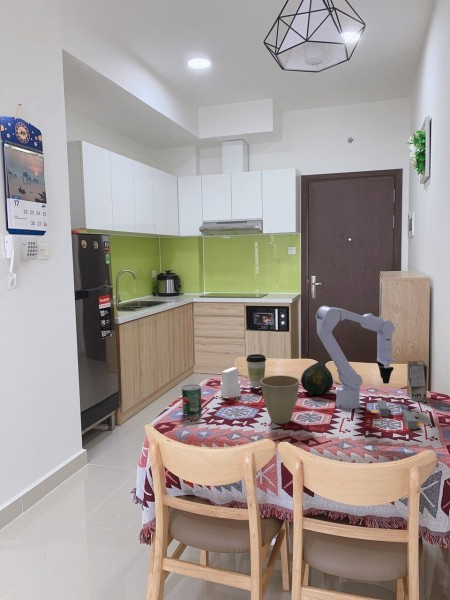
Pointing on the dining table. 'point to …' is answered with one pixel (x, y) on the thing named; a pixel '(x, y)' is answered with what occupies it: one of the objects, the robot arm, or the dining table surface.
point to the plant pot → (280, 397)
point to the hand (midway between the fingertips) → (384, 380)
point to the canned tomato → (191, 399)
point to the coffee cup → (256, 368)
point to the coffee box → (416, 380)
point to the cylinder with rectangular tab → (230, 383)
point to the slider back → (382, 407)
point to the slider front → (409, 420)
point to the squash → (317, 379)
